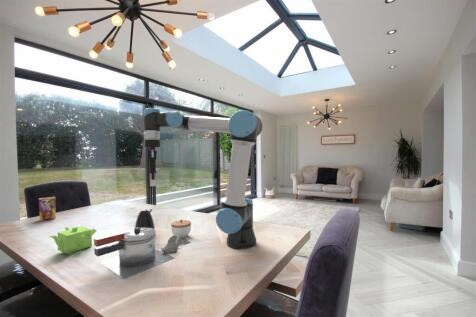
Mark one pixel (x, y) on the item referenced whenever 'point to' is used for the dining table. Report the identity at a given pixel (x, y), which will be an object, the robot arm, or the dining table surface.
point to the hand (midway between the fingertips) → (153, 185)
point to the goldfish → (174, 244)
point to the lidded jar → (181, 228)
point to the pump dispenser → (145, 220)
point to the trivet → (127, 272)
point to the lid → (126, 236)
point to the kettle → (74, 239)
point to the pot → (130, 252)
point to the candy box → (47, 208)
